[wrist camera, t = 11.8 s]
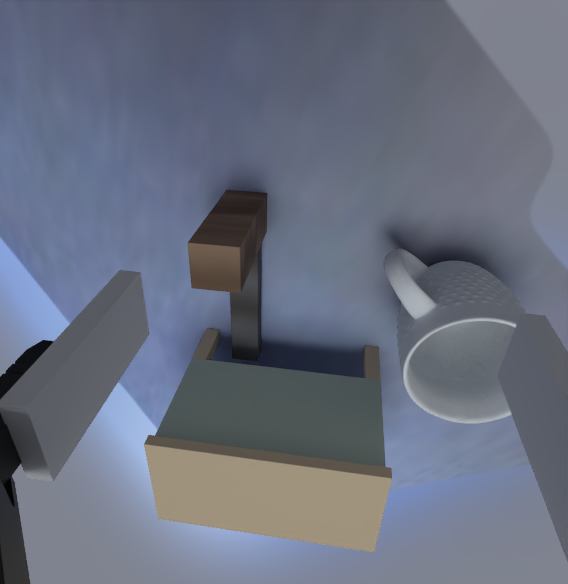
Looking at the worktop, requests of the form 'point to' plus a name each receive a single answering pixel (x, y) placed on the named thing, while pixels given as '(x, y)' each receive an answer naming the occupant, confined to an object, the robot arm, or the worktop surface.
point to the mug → (452, 336)
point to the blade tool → (234, 263)
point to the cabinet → (273, 451)
